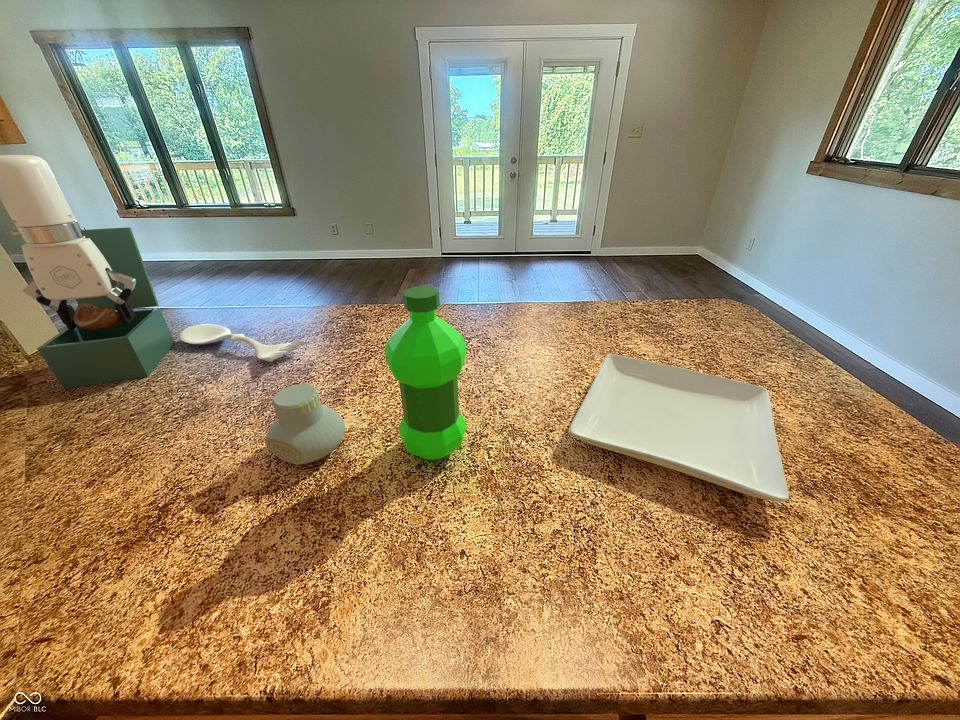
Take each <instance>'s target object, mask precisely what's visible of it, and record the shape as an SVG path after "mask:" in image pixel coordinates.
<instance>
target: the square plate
mask: <svg viewBox="0 0 960 720" xmlns="http://www.w3.org/2000/svg"><path fill="white" fill-rule="evenodd" d="M574 415H575V416H574V417H573V419H572V421H571V423H570V425H569V428H568V434H569V435H570V436H573V438H576V440H580V441H582V442H584V443H586V444H589V445H592V446H594V447H595V446H596V447H597V448H601V449H604V450H608V451H610V452H614V453H618V454H621V455H625V456H628V457H631V458H634V459H638V460H641V461H645V462H648V463H652V464H654V465H658V466H661V467H664V468H667V469H670V470H674V471H676V472H679V473H682V474H686V475H688V476H691V477H694V478H697V479H700V480H703V481H706V482H708V483H712V484H713V485H714V484H715V485H716V486H719V487H723V488H725V489H728V490H731V491H734V492H738V493H741V494H744V495H747V496H749V497H754V498H757V499H760V500H765V501H773V502H779V503H780V502H781V503H782V502H788V501H789V499H790V494H789V489H788V483H787V479H786V475H785V470H784V467H783V462H782V457H781V452H780V447H779V444H778V438H777V433H776V428H775V427H776V426H775V421H774V415H773V409H772V405H771V398H770V393H769V391H768V389H767V388H766V387H763V386H760V385H756V384H752V383H748V382H744V381H739V380H736V379H731V378H727V377H723V376H718V375H714V374H711V373H706V372H702V371H697V370H694V369H689V368H684V367H680V366H675V365H671V364H666V363H661V362H656V361H652V360H647V359H640V358H635V357H630V356H625V355H622V354H621V355H620V354H614V353H607V354H606V355H605V356H604V359H603V361H602V362H601V365H600V367H599V368H598V371H597V373H596V375H595V378H594V380H593V382H592V384H591V385H590V388H589V390H588V392H587V394H586V396H585V397H584V399H583V401H582V403H581V404H580V406H579V408H578V410H577V412H576V414H574Z"/></svg>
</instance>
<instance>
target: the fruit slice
mask: <svg viewBox="0 0 960 720" xmlns="http://www.w3.org/2000/svg"><path fill="white" fill-rule="evenodd" d="M74 310H75V312H74V316H73V321H74V323H75V324H76V325H77V326H80V327H82V328H85V329H94V330H100V329H107V328H110V327H113V326H115V325H116V324H118V323H119V322H120V321H121V318H120V316H119V314H118V312H117V310H115V311H114V310H112V309H109V308H104V307H95V306H94V305H88V304H84V303H80V304H79V305H78V304H77V307H76V309H74Z"/></svg>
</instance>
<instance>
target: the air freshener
mask: <svg viewBox="0 0 960 720" xmlns="http://www.w3.org/2000/svg"><path fill="white" fill-rule="evenodd" d="M271 402H272V406H273V408H274V409H273V410H274V412H275V414H276V419H275V420H274V421H273V422H272V423H271V425H270V426H269V428H268V429H267V431H266V434H265V439H264V440H265V445H266V447H267V449H268V450H269V451H270V452H271V453H272V454H273V455H274V456H276V457H277V458H279V459H280V460H281V461H284V462H287V463H289V464H293V465H305V464H309V463H313V462H317V461H318V460H321V459H323V458H325V457H326V456H328V455H329V454H331V453H332V452H333V451H334V450H335V449H336V448H337V447H338V446H339V445H340V443H341V442H342V440H343V438H344V435H345V431H346V423H345V419H344V418H343V417H342V416H341V414H339V413H338V412H337V411H336V410H334V409H332V408H330V407H329V406H326V405H323V404H322V403H321V399H320V395H319V392H318V389H317V388H316V387H315V386H313V385H310V384H307V383H299V384H292V385H289V386H286V387H285V388H283V389H281V390H280V391H278V392H277V393H276V394H275V395H274V397H273V398H272V401H271Z"/></svg>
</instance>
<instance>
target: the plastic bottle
mask: <svg viewBox="0 0 960 720" xmlns="http://www.w3.org/2000/svg"><path fill="white" fill-rule="evenodd" d="M402 297H403V306H404V308H405V310H406V311H407V312H409V318H408V319H406V320H405V322H403V323H402V324H401V325H400V326H399V327H398V328H397V329H396V330H395V331H394V332H393V333H392V335H391V336H390V338H388V340H386V344H385V346H384V347H385V348H384V357H385V361H386V363H387V366H388V368H389V370H390V372H391V373H392V375H393V377H394V379H395V380H396V381H398V384H399V391H400V398H401V407H402V414H403V418H402V419H401V421H400V424H399V427H398V433H399V437H400V439H401V441H402V443H403V445H404V447H405V449H406V450H407V452H408V453H409V454H411V455H414V456H416V457H419V458H422V459H423V460H427V461H435V460H442V459H444V458H446V457H448V456H449V455H450V454H452V453H453V452H455V451H457V450H458V449H459V448H460V447H461V445H462V442H463V439H464V436H465V433H466V430H467V422H466V420H465V418H464V416H463V415H462V413H461V412H460V405H459V404H460V402H459V379H458V378H459V375H461V371H462V370H463V366H464V364H465V363H466V356H467V344H466V341H465V339H464V337H463V335H462V334H461V333H460V332H459V331H458V330H457V329H456V328H454V327H453V326H452V325H451V324H450V323H448V322H446V320H444V319H442V318H440V317H439V316H437V309H438V308H440V305H441V302H440V301H441V300H440V290H439V289H437V288H436V287H434V286H427V285H420V286H413V287H409V288H406V289H405V290H404V291H403V292H402Z"/></svg>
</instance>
